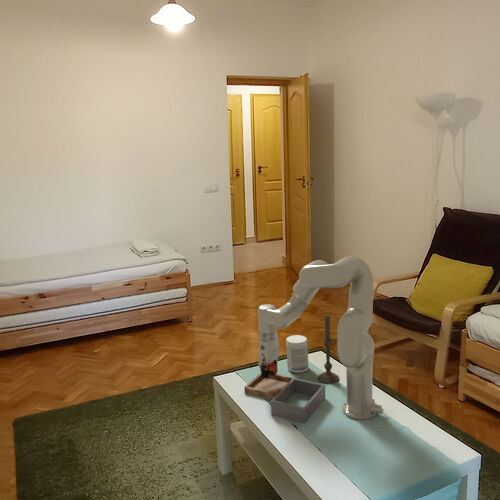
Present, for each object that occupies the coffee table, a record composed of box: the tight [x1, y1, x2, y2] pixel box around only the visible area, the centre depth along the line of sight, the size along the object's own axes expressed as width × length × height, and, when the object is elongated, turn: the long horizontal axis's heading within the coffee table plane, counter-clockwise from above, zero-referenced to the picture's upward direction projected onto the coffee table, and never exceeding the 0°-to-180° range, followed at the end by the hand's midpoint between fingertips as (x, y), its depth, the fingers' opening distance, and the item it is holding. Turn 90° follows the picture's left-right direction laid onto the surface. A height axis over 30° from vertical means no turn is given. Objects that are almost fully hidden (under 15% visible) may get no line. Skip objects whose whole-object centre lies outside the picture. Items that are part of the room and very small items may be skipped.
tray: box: [243, 372, 294, 401], centre depth 204 cm, size 16×16×3 cm
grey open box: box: [270, 377, 326, 425], centre depth 188 cm, size 14×20×6 cm
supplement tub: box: [285, 334, 309, 374], centre depth 219 cm, size 10×10×15 cm
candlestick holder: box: [317, 313, 340, 385], centre depth 206 cm, size 9×9×30 cm
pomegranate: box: [259, 360, 279, 380], centre depth 202 cm, size 7×7×10 cm
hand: (269, 373), depth 203 cm, fingers closed on pomegranate, 7 cm apart
